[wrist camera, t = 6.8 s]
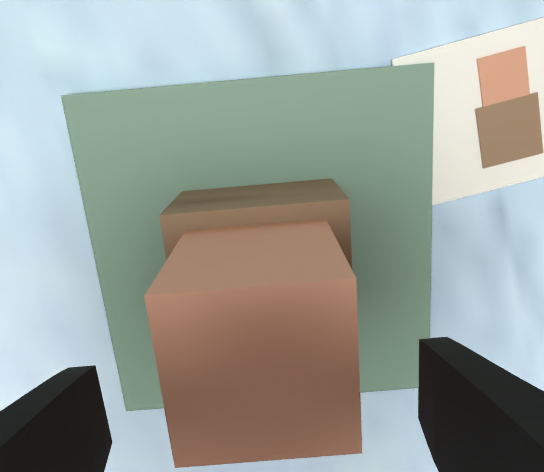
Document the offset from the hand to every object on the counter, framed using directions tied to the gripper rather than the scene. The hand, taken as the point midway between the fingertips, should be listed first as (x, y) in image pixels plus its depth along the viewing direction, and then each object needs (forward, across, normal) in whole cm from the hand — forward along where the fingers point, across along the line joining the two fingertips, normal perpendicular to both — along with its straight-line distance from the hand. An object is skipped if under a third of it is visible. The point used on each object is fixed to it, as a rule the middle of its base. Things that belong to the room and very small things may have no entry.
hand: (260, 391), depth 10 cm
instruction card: (+10, -10, -5) cm, 15 cm away
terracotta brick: (+5, 0, 0) cm, 5 cm away
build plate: (+10, 0, 0) cm, 10 cm away
